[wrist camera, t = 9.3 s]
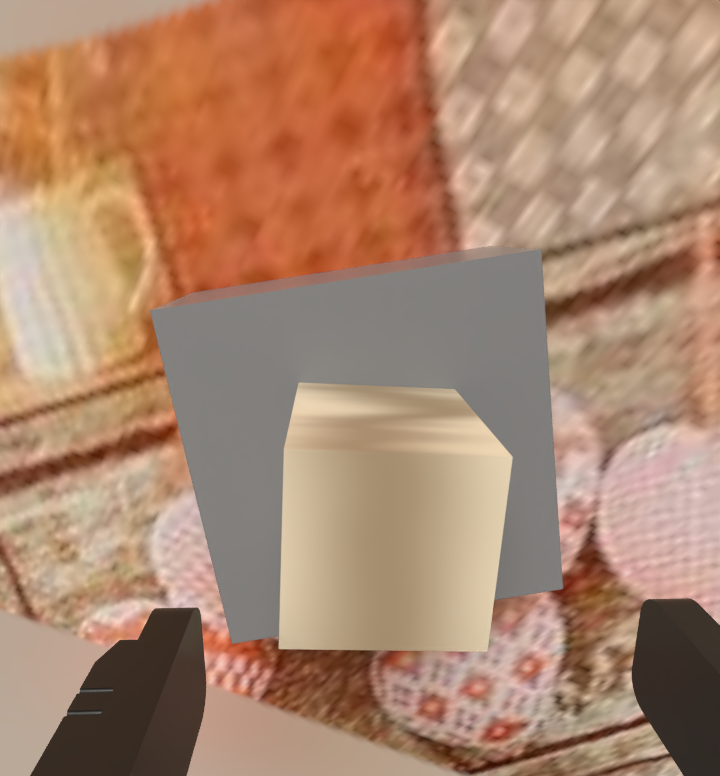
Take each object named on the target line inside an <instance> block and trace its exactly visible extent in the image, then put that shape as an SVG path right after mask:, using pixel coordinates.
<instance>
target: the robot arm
mask: <svg viewBox="0 0 720 776" xmlns="http://www.w3.org/2000/svg"><path fill="white" fill-rule="evenodd" d="M632 683H633V688H634V692H635V696H636V699H637V701H638V704H639V706H640V708H641V710H642V711H643V713H644V715H645V716H646V718H647V719H648V721H649V722H650V724H651V725H652V727H653V729H654V730H655V732H656V733H657V735H658V736H659V738H660V739H661V741H662V743H663V744H664V746H665V747H666V749H667V750H668V752H669V753H670V755H671V757H672V758H673V760H674V761H675V763H676V764H677V766H678V767H679V769H680V771H681V772H682V774H683V775H684V776H720V625H719V624H718V623H717V622H716V621H715V620H714V619H713V618H712V617H711V616H710V615H709V614H708V613H707V612H706V611H705V610H704V609H703V608H702V607H701V606H700V605H699V604H698V603H697V602H696V601H694V600H692V599H648V600H646V601H645V602H644V603H643V605H642V608H641V612H640V619H639V626H638V632H637V639H636V646H635V653H634V659H633V666H632ZM205 697H206V673H205V661H204V648H203V636H202V623H201V614H200V611H199V609H198V608H157V609H154V610H153V611H152V613H151V615H150V616H149V619H148V621H147V623H146V625H145V627H144V629H143V631H142V633H141V635H140V637H139V639H138V640H120V641H118V642H117V643H116V644H115V645H114V646H113V647H112V648H111V649H110V650H108V651H107V652H106V653H105V654H104V655H103V656H102V657H101V658H99V659H98V660H97V661H96V662H95V663H94V665H93V667H92V669H91V671H90V672H89V674H88V676H87V677H86V679H85V681H84V683H83V685H82V686H81V688H80V693H79V694H77V695H76V697H75V699H74V700H73V702H72V704H71V705H70V707H69V709H68V711H67V716H65V717H64V718H63V719H62V721H61V723H60V725H59V726H58V728H57V730H56V732H55V734H54V735H53V737H52V739H51V740H50V742H49V744H48V746H47V747H46V749H45V751H44V753H43V754H42V756H41V758H40V760H39V761H38V763H37V765H36V767H35V768H34V770H33V772H32V774H31V775H30V776H186V775H187V772H188V768H189V764H190V761H191V757H192V754H193V750H194V747H195V743H196V740H197V736H198V733H199V729H200V726H201V722H202V718H203V712H204V706H205Z"/></svg>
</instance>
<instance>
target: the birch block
mask: <svg viewBox="0 0 720 776" xmlns="http://www.w3.org/2000/svg"><path fill="white" fill-rule="evenodd" d="M512 459H513V457H512V456H511V454H510V453H509V452H508V451H507V450H506V449H505V447H504V446H503V445H502V444H501V443H500V441H499V440H498V439H497V438H496V437H495V436H494V434H493V433H492V432H491V431H490V430H489V429H488V427H487V426H486V425H485V424H484V423H483V422H482V420H481V419H480V418H479V417H478V416H477V415H476V413H475V412H474V411H473V410H472V409H471V408H470V406H469V405H468V404H467V403H466V402H465V401H464V399H463V398H462V397H461V396H460V395H459V393H458V392H457V391H456V390H455V389H441V388H417V387H394V386H371V385H347V384H324V383H300V382H299V383H298V387H297V392H296V396H295V401H294V405H293V410H292V414H291V419H290V423H289V428H288V432H287V437H286V441H285V446H284V462H283V501H282V540H281V579H280V618H279V649H313V650H390V651H468V652H487V651H488V644H489V636H490V628H491V621H492V613H493V605H494V598H495V590H496V582H497V575H498V567H499V559H500V551H501V544H502V536H503V528H504V521H505V513H506V505H507V498H508V490H509V482H510V475H511V467H512Z"/></svg>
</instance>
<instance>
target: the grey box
mask: <svg viewBox="0 0 720 776" xmlns="http://www.w3.org/2000/svg"><path fill="white" fill-rule="evenodd" d="M150 313H151V317H152V321H153V325H154V329H155V333H156V337H157V341H158V345H159V349H160V353H161V357H162V361H163V365H164V369H165V373H166V377H167V382H168V386H169V390H170V394H171V398H172V402H173V406H174V410H175V414H176V418H177V422H178V426H179V430H180V434H181V438H182V442H183V446H184V450H185V454H186V459H187V463H188V467H189V471H190V475H191V479H192V483H193V487H194V491H195V495H196V499H197V503H198V507H199V511H200V515H201V519H202V523H203V527H204V531H205V536H206V540H207V544H208V548H209V552H210V556H211V560H212V564H213V568H214V572H215V576H216V580H217V584H218V588H219V592H220V596H221V600H222V604H223V608H224V613H225V617H226V621H227V625H228V629H229V633H230V637H231V641H232V644H233V643H239V642H245V641H251V640H257V639H263V638H269V637H275V636H279V618H280V579H281V540H282V501H283V462H284V446H285V441H286V437H287V432H288V428H289V423H290V419H291V414H292V410H293V405H294V401H295V396H296V392H297V387H298V383H299V382H300V383H324V384H347V385H371V386H394V387H417V388H441V389H455V390H456V391H457V392H458V393H459V395H460V396H461V397H462V398H463V399H464V401H465V402H466V403H467V404H468V405H469V406H470V408H471V409H472V410H473V411H474V412H475V413H476V415H477V416H478V417H479V418H480V419H481V420H482V422H483V423H484V424H485V425H486V426H487V427H488V429H489V430H490V431H491V432H492V433H493V434H494V436H495V437H496V438H497V439H498V440H499V441H500V443H501V444H502V445H503V446H504V447H505V449H506V450H507V451H508V452H509V453H510V454H511V456H512V457H513V459H512V467H511V475H510V482H509V490H508V498H507V505H506V513H505V521H504V528H503V536H502V544H501V551H500V559H499V567H498V575H497V582H496V590H495V598H494V600H498V599H504V598H510V597H516V596H522V595H528V594H535V593H541V592H547V591H553V590H559V589H563V583H562V568H561V552H560V536H559V521H558V505H557V489H556V474H555V458H554V442H553V427H552V411H551V395H550V379H549V364H548V348H547V332H546V317H545V301H544V285H543V270H542V254H541V249H528V248H510V247H493V246H489V247H482V248H476V249H469V250H463V251H456V252H450V253H444V254H437V255H431V256H424V257H418V258H412V259H405V260H399V261H392V262H386V263H380V264H373V265H367V266H360V267H354V268H348V269H341V270H335V271H328V272H322V273H315V274H309V275H303V276H296V277H290V278H283V279H277V280H271V281H264V282H258V283H251V284H245V285H239V286H232V287H226V288H219V289H213V290H206V291H200V292H194V293H191V294H188V295H186V296H184V297H181V298H179V299H176V300H174V301H171V302H169V303H167V304H164V305H162V306H159V307H157V308H155V309H152V310H150Z"/></svg>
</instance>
